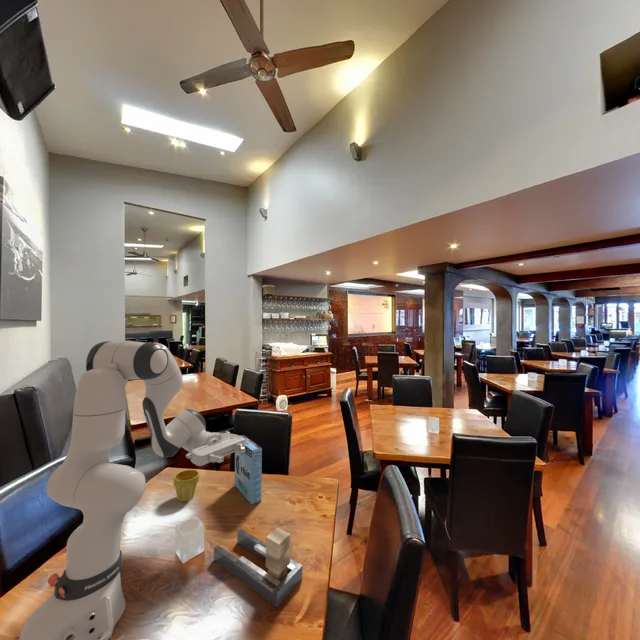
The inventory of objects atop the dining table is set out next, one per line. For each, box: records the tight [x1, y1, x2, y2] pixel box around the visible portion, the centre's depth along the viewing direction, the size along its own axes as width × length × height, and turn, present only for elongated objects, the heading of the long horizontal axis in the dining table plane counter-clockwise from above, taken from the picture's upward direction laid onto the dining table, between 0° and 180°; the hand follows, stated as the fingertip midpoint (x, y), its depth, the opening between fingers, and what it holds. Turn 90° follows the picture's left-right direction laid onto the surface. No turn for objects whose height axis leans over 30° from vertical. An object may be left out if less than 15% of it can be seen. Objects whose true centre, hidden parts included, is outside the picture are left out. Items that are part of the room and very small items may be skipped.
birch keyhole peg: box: [265, 527, 291, 582], centre depth 86 cm, size 6×6×14 cm
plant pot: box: [173, 468, 200, 502], centre depth 128 cm, size 10×10×10 cm
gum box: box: [234, 434, 263, 505], centre depth 133 cm, size 20×5×23 cm, turn 37°
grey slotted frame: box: [213, 528, 303, 608], centre depth 91 cm, size 11×28×4 cm, turn 56°
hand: (233, 455), depth 103 cm, fingers open, 8 cm apart
